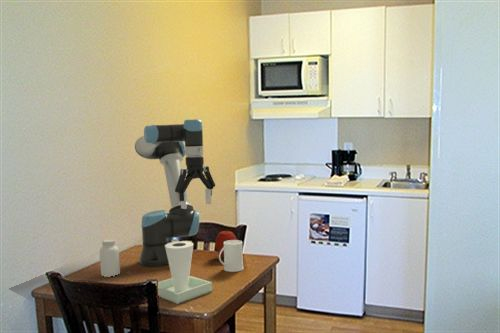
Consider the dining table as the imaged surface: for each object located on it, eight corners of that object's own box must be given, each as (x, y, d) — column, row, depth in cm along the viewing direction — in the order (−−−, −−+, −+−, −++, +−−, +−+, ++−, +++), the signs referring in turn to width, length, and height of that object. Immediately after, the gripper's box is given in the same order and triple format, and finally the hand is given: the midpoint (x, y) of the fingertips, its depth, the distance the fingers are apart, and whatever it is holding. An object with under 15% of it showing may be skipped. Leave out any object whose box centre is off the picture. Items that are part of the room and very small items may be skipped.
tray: (150, 293, 193) (149, 284, 192) (184, 282, 205) (184, 273, 204) (177, 304, 181) (177, 294, 181) (212, 291, 193) (211, 282, 193)
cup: (170, 286, 198) (167, 241, 197) (197, 286, 198) (195, 240, 196) (164, 296, 188) (162, 248, 186) (193, 295, 188) (191, 248, 186)
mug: (224, 274, 213) (223, 246, 212) (213, 270, 220) (212, 243, 219) (247, 269, 220) (246, 242, 219) (236, 265, 227) (235, 238, 226)
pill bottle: (114, 270, 224) (112, 237, 222) (123, 274, 218) (121, 240, 217) (97, 275, 218) (95, 240, 217) (106, 278, 213) (104, 243, 211)
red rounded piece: (225, 262, 232) (223, 232, 230) (211, 258, 239) (210, 229, 238) (241, 257, 239) (240, 228, 237) (228, 253, 246) (227, 225, 245)
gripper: (176, 159, 201) (178, 211, 203) (222, 154, 219) (224, 202, 221) (164, 158, 206) (167, 209, 208) (210, 153, 224) (212, 201, 226)
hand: (196, 206), depth 215 cm, fingers open, 13 cm apart
